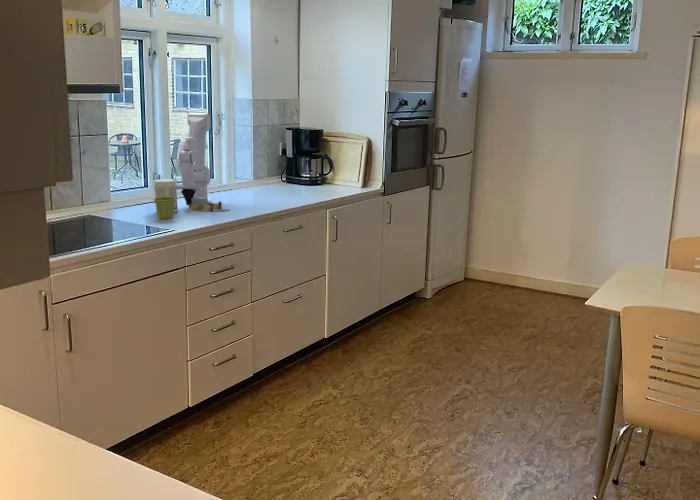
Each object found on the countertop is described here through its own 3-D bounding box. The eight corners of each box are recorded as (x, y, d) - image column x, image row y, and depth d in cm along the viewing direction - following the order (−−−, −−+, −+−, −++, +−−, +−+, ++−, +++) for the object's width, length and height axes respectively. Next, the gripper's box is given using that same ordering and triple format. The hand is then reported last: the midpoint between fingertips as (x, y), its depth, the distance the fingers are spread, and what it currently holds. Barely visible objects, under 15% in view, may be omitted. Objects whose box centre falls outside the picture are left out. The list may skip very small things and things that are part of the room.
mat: (212, 211, 321) (212, 210, 321) (219, 209, 327) (219, 208, 327) (223, 212, 319) (223, 211, 319) (230, 210, 325) (230, 209, 325)
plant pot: (165, 220, 296) (164, 200, 294) (149, 218, 301) (148, 198, 299) (181, 217, 304) (180, 198, 302) (166, 215, 309) (165, 196, 307)
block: (191, 208, 326) (191, 198, 325) (197, 207, 330) (196, 196, 329) (202, 209, 324) (202, 198, 323) (207, 208, 328) (207, 197, 327)
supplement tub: (175, 209, 324) (173, 178, 321) (179, 212, 316) (178, 180, 312) (154, 211, 320) (152, 179, 316) (158, 214, 311) (156, 181, 308)
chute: (188, 209, 325) (188, 202, 324) (198, 206, 332) (198, 199, 331) (212, 211, 320) (212, 204, 319) (221, 208, 327) (221, 201, 327)
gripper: (170, 176, 325) (171, 205, 328) (195, 178, 320) (197, 207, 323) (179, 174, 331) (180, 202, 335) (204, 176, 326) (205, 205, 329)
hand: (189, 204), depth 329 cm, fingers closed
